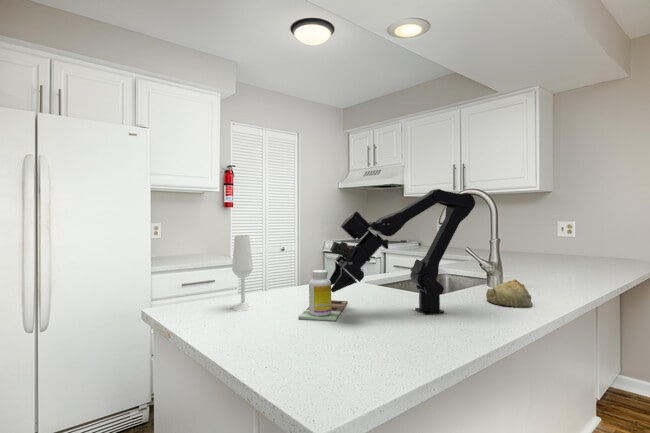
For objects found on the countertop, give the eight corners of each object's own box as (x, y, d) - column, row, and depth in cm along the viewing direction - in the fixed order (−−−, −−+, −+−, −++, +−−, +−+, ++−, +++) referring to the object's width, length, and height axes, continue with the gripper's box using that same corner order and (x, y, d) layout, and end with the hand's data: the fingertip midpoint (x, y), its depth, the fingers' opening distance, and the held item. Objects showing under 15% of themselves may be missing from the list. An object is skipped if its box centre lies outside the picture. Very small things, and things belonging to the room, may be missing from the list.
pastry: (541, 306, 119) (541, 281, 119) (514, 310, 114) (513, 285, 114) (504, 297, 132) (504, 275, 132) (478, 301, 127) (478, 278, 127)
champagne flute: (228, 310, 119) (227, 236, 119) (238, 305, 126) (237, 234, 126) (248, 311, 118) (246, 236, 118) (256, 305, 124) (255, 234, 124)
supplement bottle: (336, 314, 110) (335, 271, 110) (318, 318, 106) (317, 273, 106) (322, 309, 115) (322, 268, 115) (305, 313, 111) (304, 270, 111)
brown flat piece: (316, 302, 129) (316, 299, 129) (347, 303, 126) (347, 300, 126) (298, 319, 108) (298, 316, 108) (335, 321, 105) (335, 318, 105)
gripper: (340, 230, 120) (308, 265, 119) (351, 233, 102) (312, 275, 101) (365, 253, 121) (333, 288, 120) (379, 260, 103) (341, 302, 102)
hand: (329, 288), depth 111 cm, fingers open, 9 cm apart
